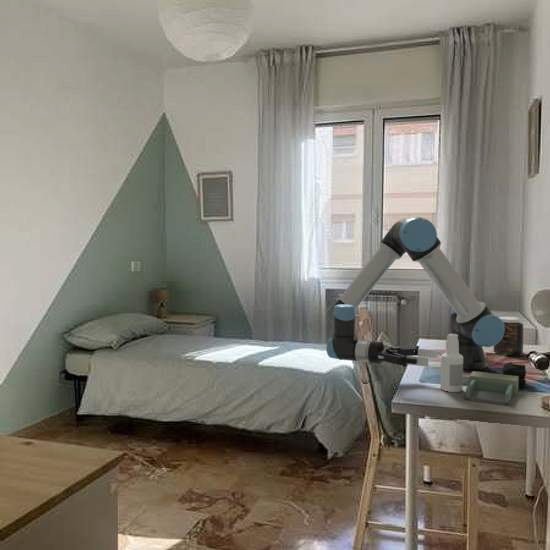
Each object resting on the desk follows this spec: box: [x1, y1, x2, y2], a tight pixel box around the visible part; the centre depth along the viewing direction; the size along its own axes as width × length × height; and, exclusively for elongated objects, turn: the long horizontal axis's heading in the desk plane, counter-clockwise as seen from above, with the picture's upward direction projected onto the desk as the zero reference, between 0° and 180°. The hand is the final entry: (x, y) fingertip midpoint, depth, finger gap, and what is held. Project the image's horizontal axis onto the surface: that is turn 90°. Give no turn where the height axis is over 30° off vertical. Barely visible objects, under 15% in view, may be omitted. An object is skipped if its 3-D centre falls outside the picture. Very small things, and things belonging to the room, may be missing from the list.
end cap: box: [501, 361, 527, 390], centre depth 183 cm, size 10×7×7 cm
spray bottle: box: [440, 333, 464, 393], centre depth 176 cm, size 7×7×18 cm
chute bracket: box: [463, 370, 519, 406], centre depth 171 cm, size 20×14×4 cm
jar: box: [493, 316, 524, 356], centre depth 234 cm, size 12×12×15 cm
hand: (433, 357), depth 179 cm, fingers open, 13 cm apart
